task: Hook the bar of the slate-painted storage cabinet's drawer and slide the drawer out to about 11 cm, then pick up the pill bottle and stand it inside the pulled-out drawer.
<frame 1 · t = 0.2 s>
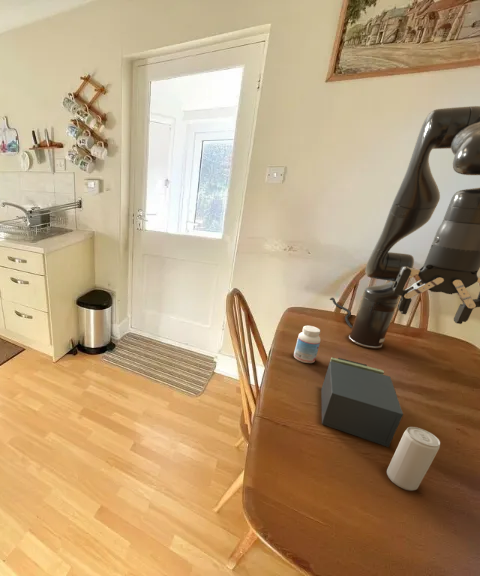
hand: (428, 317, 68), 29 cm above the table, tool pointing down, fingers open, 8 cm apart
cabinet: (351, 415, 80), on the table
beverage can: (400, 481, 63), on the table
pill bottle: (303, 359, 104), on the table
drawer: (353, 383, 84), point 5 cm above the table, slide at 3.0 cm
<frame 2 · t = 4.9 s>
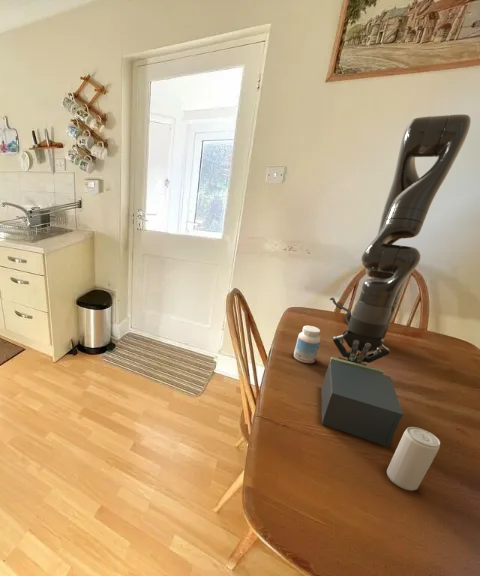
hand: (350, 370, 91), 4 cm above the table, tool pointing down, fingers closed
drawer: (353, 383, 84), point 5 cm above the table, slide at 3.3 cm, touching gripper
everything else where it was.
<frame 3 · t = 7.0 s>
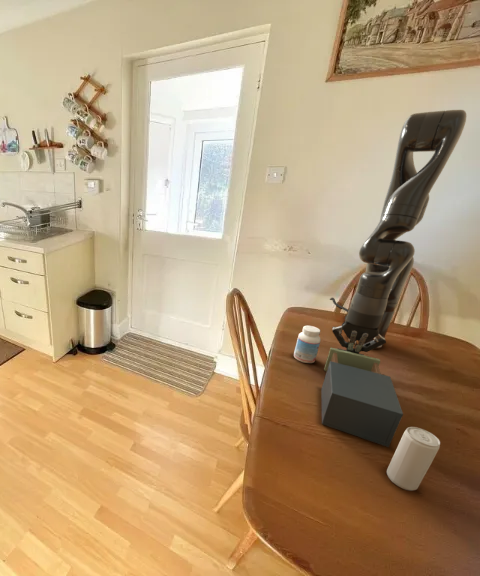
hand: (349, 359, 95), 4 cm above the table, tool pointing down, fingers closed
drawer: (351, 371, 89), point 5 cm above the table, slide at 9.2 cm, touching gripper
everything else where it was.
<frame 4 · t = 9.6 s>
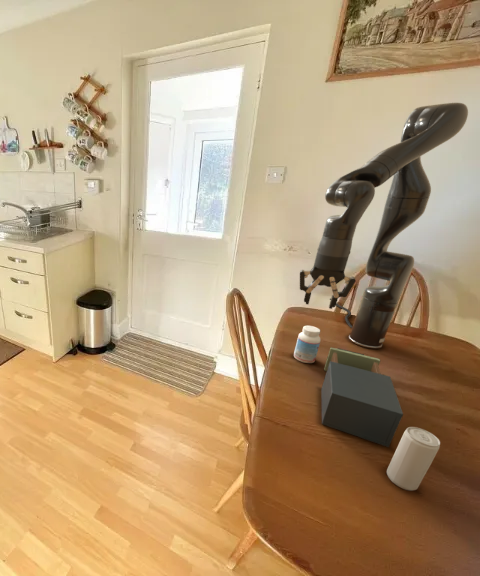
hand: (318, 305, 97), 19 cm above the table, tool pointing down, fingers open, 5 cm apart
drawer: (351, 371, 89), point 5 cm above the table, slide at 9.4 cm
everything else where it was.
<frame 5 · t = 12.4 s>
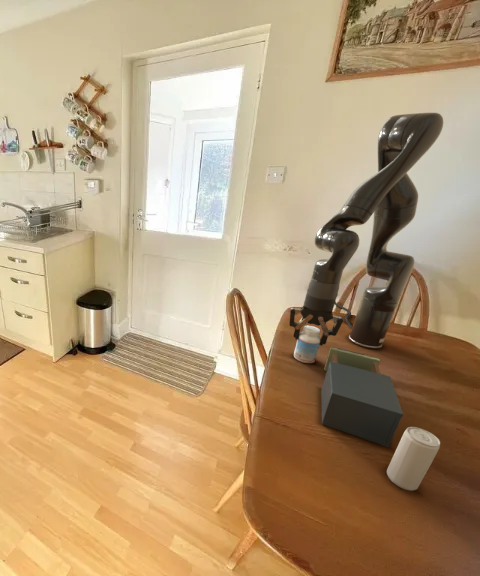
hand: (308, 341, 101), 7 cm above the table, tool pointing down, fingers closed on pill bottle, 6 cm apart
pill bottle: (303, 359, 104), on the table, touching gripper
everything else where it was.
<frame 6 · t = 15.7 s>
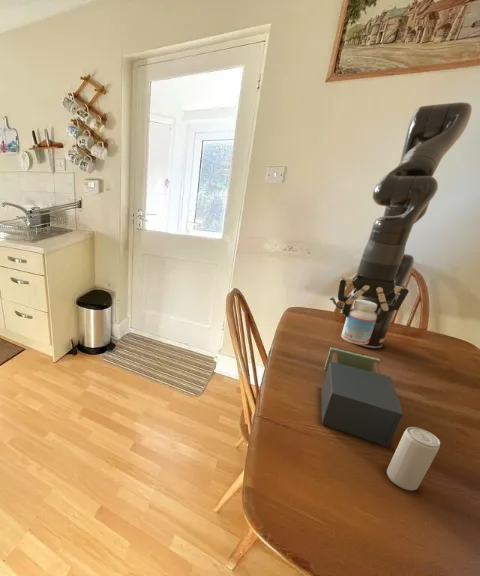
hand: (361, 318, 85), 21 cm above the table, tool pointing down, fingers closed on pill bottle, 6 cm apart
pill bottle: (353, 340, 87), point 14 cm above the table, touching gripper
everything else where it was.
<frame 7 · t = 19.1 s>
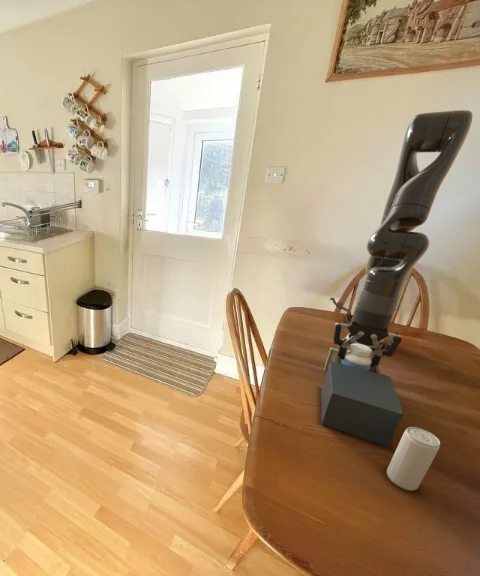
hand: (356, 361, 87), 9 cm above the table, tool pointing down, fingers closed on pill bottle, 6 cm apart
pill bottle: (349, 381, 90), point 2 cm above the table, touching drawer, gripper
drawer: (351, 371, 89), point 5 cm above the table, slide at 9.2 cm, touching pill bottle
everything else where it was.
when the fingers open (9 cm above the table, at t = 19.2 s): pill bottle stays where it is, resting on drawer.
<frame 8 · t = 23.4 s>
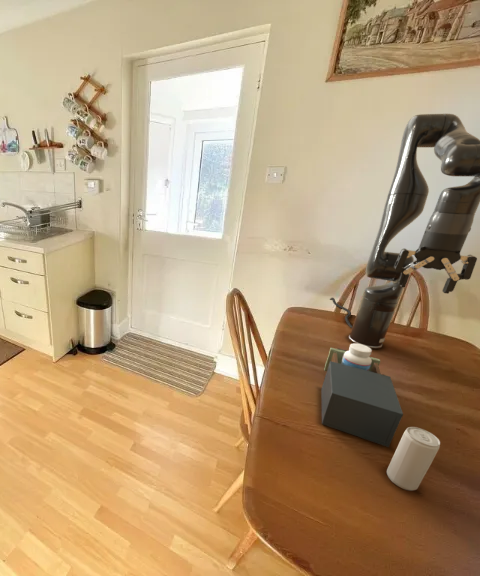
hand: (423, 289, 85), 28 cm above the table, tool pointing down, fingers open, 8 cm apart
pill bottle: (349, 381, 90), point 2 cm above the table, touching drawer
everything else where it was.
at the end: drawer slide at 9.2 cm; pill bottle inside the target area in the drawer (0.2 cm from its centre), point 1.8 cm above the cabinet's base; pill bottle tilted 0° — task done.
